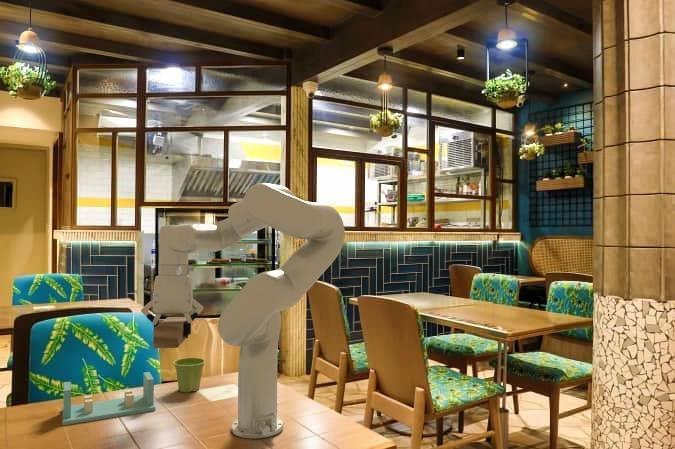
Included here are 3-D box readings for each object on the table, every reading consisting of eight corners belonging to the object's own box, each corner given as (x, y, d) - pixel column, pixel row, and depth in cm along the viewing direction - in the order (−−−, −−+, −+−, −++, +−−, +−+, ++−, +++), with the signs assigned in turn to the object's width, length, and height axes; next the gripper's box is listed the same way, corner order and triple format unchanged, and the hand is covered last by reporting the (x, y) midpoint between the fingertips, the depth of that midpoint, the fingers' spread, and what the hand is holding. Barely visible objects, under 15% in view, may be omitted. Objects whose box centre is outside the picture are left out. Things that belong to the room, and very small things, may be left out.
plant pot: (209, 385, 156) (209, 357, 156) (198, 395, 147) (198, 365, 147) (180, 384, 157) (181, 357, 157) (167, 394, 148) (168, 364, 148)
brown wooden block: (177, 347, 125) (178, 327, 125) (153, 348, 124) (153, 328, 124) (189, 334, 141) (189, 316, 141) (167, 334, 140) (167, 317, 140)
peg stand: (148, 397, 144) (149, 370, 145) (155, 410, 134) (155, 380, 134) (62, 410, 134) (63, 380, 134) (62, 425, 123) (62, 393, 123)
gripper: (206, 269, 139) (205, 333, 139) (140, 270, 134) (138, 336, 134) (207, 271, 132) (206, 339, 131) (137, 272, 127) (136, 342, 126)
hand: (172, 337), depth 132 cm, fingers closed on brown wooden block, 6 cm apart
